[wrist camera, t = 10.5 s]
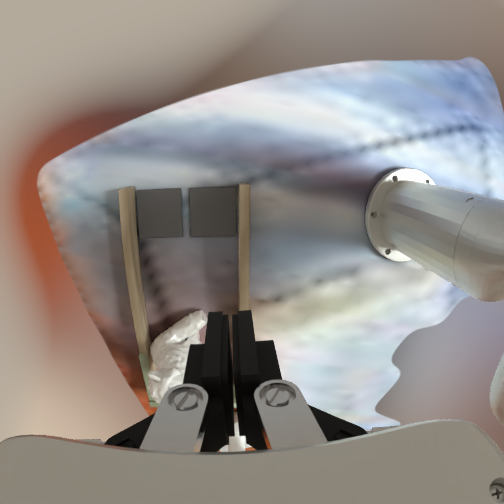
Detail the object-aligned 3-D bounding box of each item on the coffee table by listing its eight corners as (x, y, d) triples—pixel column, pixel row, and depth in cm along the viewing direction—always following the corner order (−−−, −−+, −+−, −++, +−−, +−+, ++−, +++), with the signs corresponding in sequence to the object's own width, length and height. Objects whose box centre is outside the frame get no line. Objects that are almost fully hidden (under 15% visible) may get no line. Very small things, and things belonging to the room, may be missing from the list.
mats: (235, 187, 34) (236, 187, 34) (235, 235, 36) (236, 236, 35) (137, 190, 33) (136, 190, 33) (140, 237, 35) (139, 238, 34)
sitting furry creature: (222, 364, 41) (225, 427, 30) (165, 373, 41) (153, 434, 29) (204, 306, 38) (200, 365, 27) (142, 318, 38) (119, 376, 26)
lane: (247, 183, 34) (251, 186, 30) (246, 388, 43) (248, 406, 39) (126, 187, 33) (115, 190, 29) (154, 388, 41) (150, 406, 37)
